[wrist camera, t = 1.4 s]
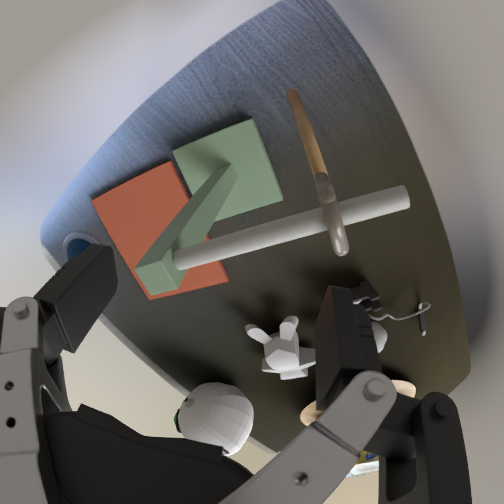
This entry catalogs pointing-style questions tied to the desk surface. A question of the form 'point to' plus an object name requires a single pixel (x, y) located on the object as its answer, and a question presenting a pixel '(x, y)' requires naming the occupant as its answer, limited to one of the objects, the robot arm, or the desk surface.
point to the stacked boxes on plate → (367, 459)
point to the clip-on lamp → (369, 301)
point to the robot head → (216, 416)
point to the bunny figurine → (283, 350)
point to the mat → (151, 222)
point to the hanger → (320, 176)
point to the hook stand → (237, 206)
